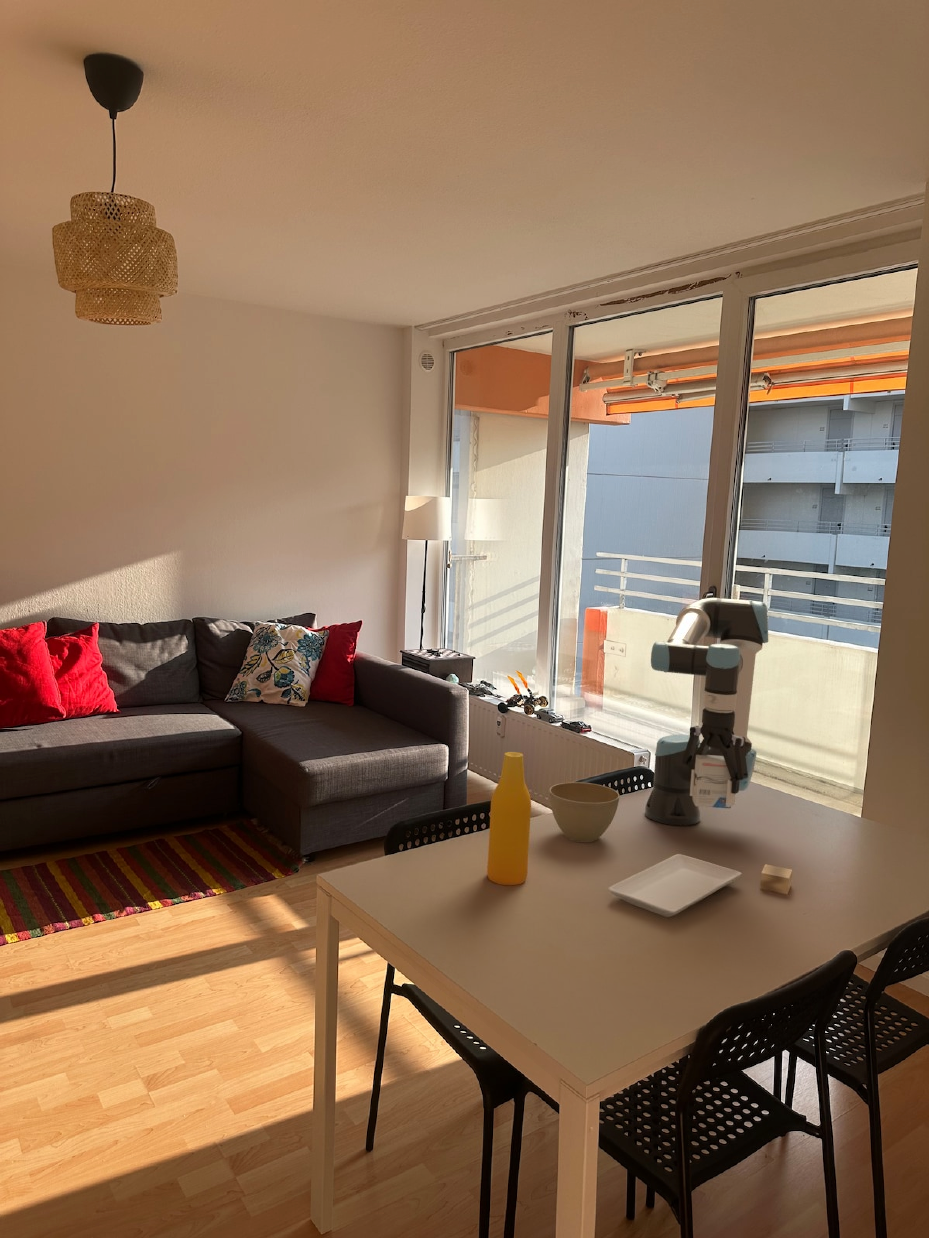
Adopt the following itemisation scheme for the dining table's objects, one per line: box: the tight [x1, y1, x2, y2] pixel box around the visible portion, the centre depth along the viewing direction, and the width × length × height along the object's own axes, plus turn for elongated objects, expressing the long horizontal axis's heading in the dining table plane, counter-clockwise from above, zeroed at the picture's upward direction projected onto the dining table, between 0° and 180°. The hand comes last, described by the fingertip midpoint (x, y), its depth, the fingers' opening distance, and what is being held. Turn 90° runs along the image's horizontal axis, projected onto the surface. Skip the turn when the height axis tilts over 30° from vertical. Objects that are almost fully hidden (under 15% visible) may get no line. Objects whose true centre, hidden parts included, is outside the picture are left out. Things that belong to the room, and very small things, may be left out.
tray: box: [607, 853, 742, 918], centre depth 199 cm, size 17×31×4 cm, turn 137°
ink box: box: [693, 755, 732, 809], centre depth 214 cm, size 8×5×12 cm, turn 84°
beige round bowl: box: [548, 781, 620, 843], centre depth 232 cm, size 18×18×12 cm
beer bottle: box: [486, 751, 532, 886], centre depth 202 cm, size 9×9×29 cm
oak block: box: [759, 863, 793, 895], centre depth 205 cm, size 6×6×4 cm
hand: (711, 800), depth 215 cm, fingers closed on ink box, 9 cm apart
